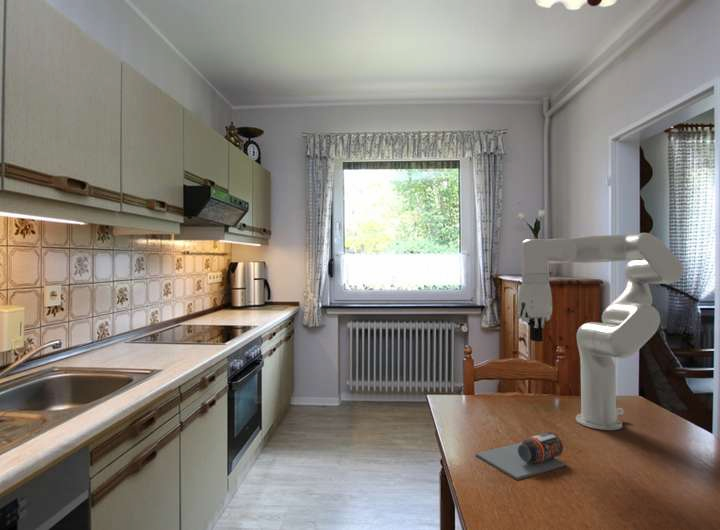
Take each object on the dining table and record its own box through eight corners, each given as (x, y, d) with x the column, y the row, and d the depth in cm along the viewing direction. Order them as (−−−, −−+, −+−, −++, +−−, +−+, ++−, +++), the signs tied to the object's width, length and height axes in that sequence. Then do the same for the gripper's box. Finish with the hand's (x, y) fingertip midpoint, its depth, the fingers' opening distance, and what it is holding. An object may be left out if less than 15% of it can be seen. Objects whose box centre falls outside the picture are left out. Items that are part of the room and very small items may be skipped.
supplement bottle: (565, 459, 104) (535, 470, 98) (544, 452, 109) (515, 462, 104) (563, 434, 104) (532, 444, 99) (542, 428, 110) (513, 437, 104)
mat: (521, 444, 115) (521, 442, 115) (565, 465, 102) (565, 463, 102) (475, 455, 108) (475, 453, 108) (516, 480, 95) (516, 477, 95)
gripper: (542, 279, 132) (543, 337, 131) (507, 280, 125) (508, 340, 125) (563, 279, 125) (564, 340, 125) (527, 280, 119) (528, 344, 118)
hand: (536, 340), depth 125 cm, fingers closed
